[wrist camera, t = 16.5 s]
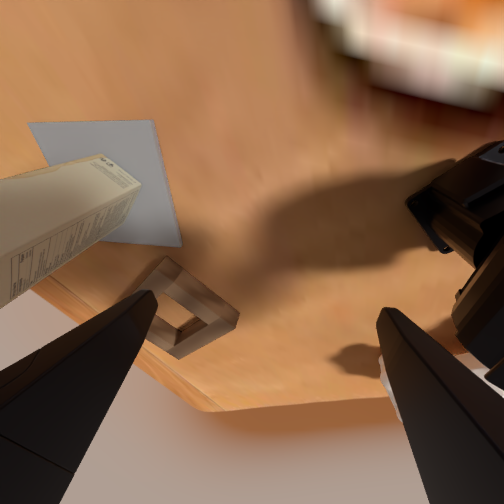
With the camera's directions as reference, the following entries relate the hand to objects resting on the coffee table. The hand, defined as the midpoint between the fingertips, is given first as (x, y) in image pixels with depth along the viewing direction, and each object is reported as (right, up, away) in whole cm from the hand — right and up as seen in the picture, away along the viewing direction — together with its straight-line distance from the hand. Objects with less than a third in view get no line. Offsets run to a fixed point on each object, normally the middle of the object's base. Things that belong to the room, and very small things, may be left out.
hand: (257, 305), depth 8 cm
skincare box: (-14, +8, +13) cm, 21 cm away
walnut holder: (-11, -6, +22) cm, 25 cm away
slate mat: (-14, +8, +13) cm, 21 cm away
